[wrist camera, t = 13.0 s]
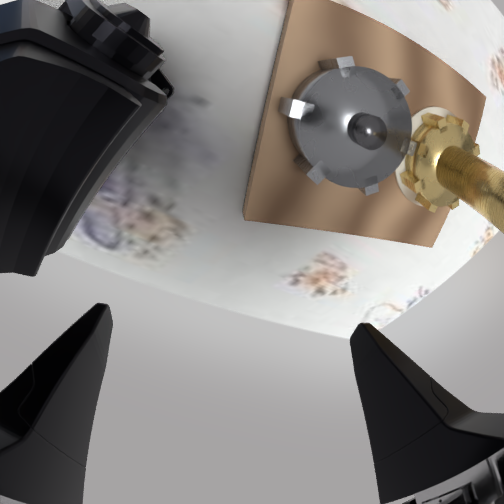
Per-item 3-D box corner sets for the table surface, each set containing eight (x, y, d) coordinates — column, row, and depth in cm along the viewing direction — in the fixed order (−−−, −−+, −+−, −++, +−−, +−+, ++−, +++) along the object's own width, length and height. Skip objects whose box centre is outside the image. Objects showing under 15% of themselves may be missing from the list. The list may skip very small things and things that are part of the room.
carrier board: (242, 211, 21) (244, 222, 19) (290, -5, 12) (297, -12, 10) (424, 239, 25) (433, 249, 24) (475, 94, 16) (488, 97, 14)
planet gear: (386, 132, 17) (529, 216, 6) (455, 99, 15) (580, 154, 5) (410, 217, 21) (502, 318, 11) (468, 179, 19) (561, 254, 9)
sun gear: (265, 162, 17) (279, 184, 14) (292, 46, 13) (315, 37, 10) (375, 186, 19) (404, 211, 16) (404, 90, 15) (442, 98, 11)
